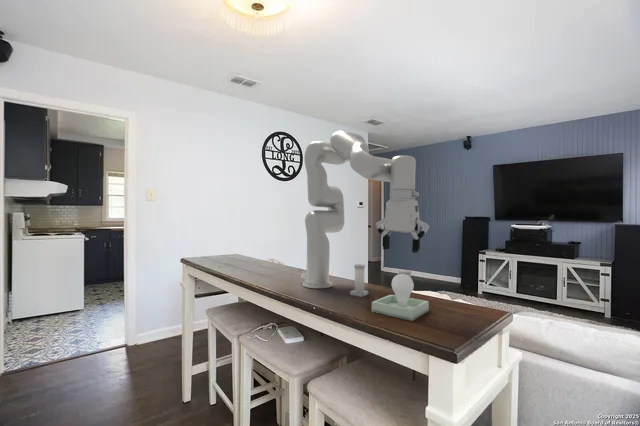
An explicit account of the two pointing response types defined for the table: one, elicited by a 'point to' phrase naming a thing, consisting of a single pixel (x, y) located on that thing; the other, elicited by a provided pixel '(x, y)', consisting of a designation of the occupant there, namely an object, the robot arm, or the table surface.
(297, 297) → the table surface
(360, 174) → the robot arm
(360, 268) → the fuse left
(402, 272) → the post
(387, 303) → the tray
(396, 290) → the light bulb
